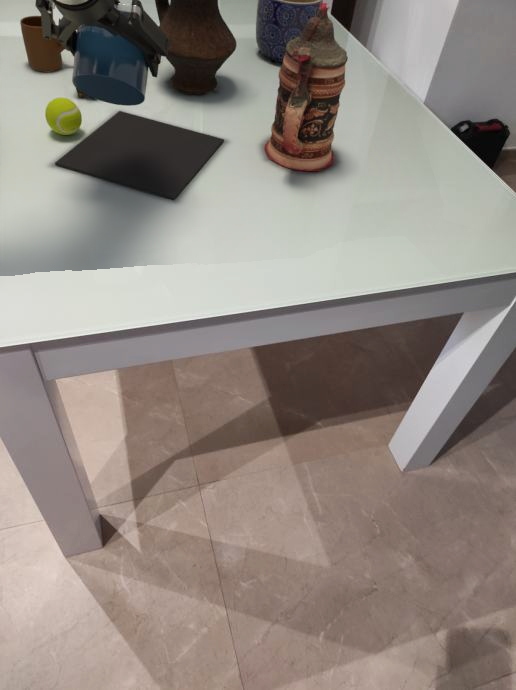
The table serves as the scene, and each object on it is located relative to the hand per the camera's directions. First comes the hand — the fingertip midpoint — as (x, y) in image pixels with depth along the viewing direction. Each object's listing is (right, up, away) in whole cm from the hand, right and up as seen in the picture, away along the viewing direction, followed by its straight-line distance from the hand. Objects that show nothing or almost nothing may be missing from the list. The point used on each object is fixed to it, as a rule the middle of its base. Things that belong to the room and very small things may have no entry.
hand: (119, 63), depth 84 cm
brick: (-15, +12, +33) cm, 38 cm away
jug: (+7, +17, +40) cm, 44 cm away
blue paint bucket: (-1, -6, -3) cm, 7 cm away
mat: (0, -8, +17) cm, 19 cm away
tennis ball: (-16, -4, +19) cm, 25 cm away
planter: (+29, +33, +57) cm, 72 cm away
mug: (-26, +20, +38) cm, 50 cm away
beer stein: (+30, -7, +22) cm, 38 cm away
